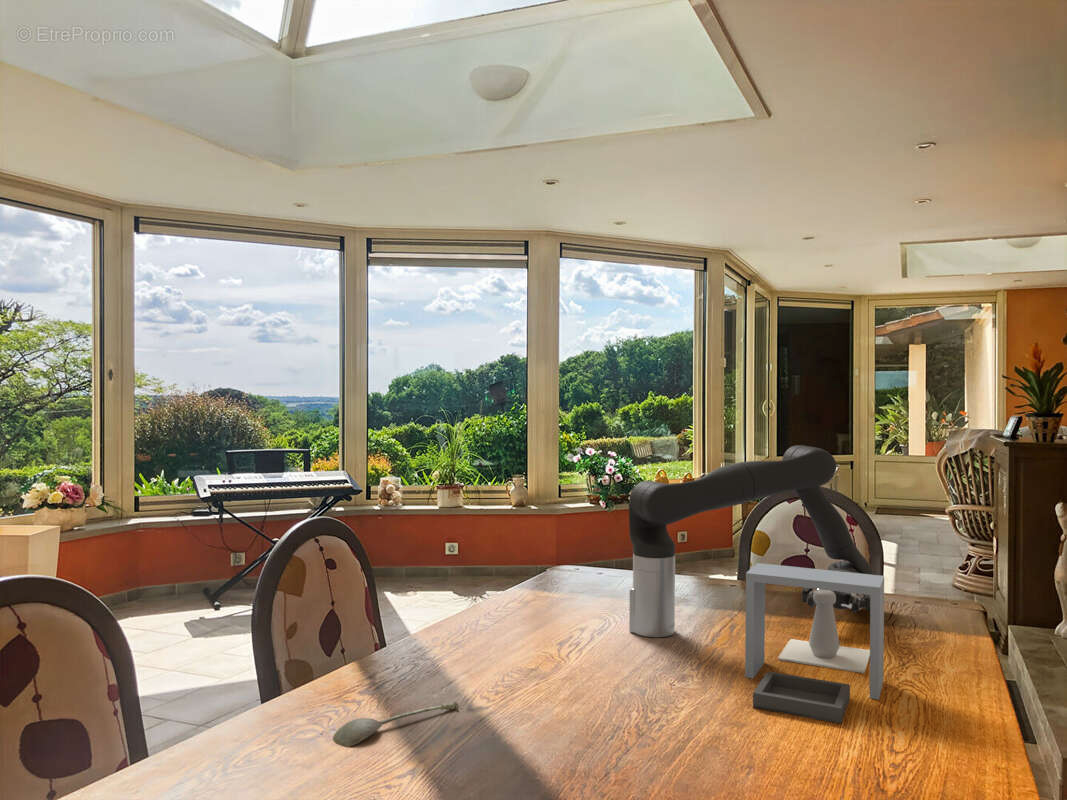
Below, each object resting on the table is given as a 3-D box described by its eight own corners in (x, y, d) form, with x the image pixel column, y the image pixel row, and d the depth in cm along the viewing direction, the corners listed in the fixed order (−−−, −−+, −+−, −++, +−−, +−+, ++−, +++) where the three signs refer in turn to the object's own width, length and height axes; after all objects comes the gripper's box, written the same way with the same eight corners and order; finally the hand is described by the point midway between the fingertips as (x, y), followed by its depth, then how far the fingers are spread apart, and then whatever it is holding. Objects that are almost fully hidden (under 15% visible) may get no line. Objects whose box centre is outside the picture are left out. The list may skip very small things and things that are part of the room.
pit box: (752, 707, 136) (753, 692, 135) (767, 684, 146) (767, 671, 146) (841, 723, 129) (841, 708, 129) (849, 698, 140) (849, 684, 140)
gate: (745, 677, 150) (745, 573, 150) (756, 661, 159) (757, 563, 159) (878, 699, 139) (879, 587, 139) (883, 681, 148) (884, 575, 148)
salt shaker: (841, 661, 158) (842, 595, 158) (810, 658, 159) (811, 593, 159) (836, 651, 164) (837, 588, 164) (807, 649, 165) (807, 586, 165)
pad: (777, 659, 160) (777, 657, 160) (790, 640, 172) (790, 638, 172) (864, 673, 152) (864, 671, 152) (871, 652, 165) (871, 650, 165)
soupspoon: (324, 742, 124) (342, 760, 119) (324, 721, 124) (342, 737, 118) (447, 704, 137) (468, 718, 132) (447, 684, 137) (468, 698, 132)
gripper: (809, 569, 188) (797, 583, 174) (875, 575, 182) (868, 591, 167) (809, 601, 188) (797, 618, 174) (875, 609, 182) (868, 627, 167)
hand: (832, 605), depth 171 cm, fingers open, 8 cm apart
